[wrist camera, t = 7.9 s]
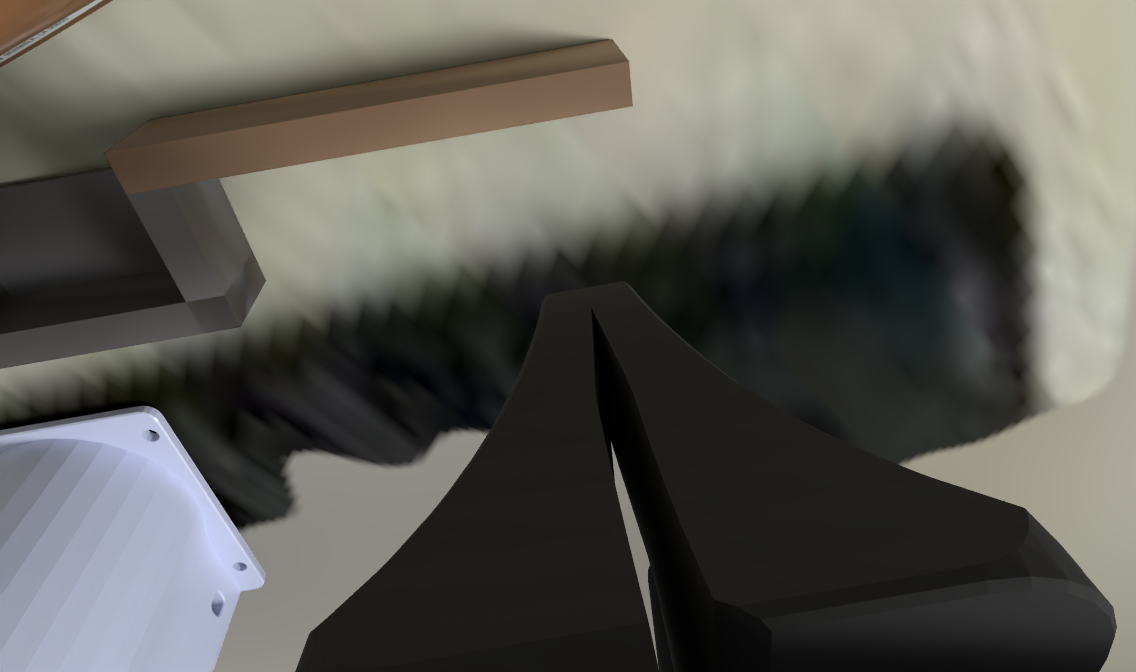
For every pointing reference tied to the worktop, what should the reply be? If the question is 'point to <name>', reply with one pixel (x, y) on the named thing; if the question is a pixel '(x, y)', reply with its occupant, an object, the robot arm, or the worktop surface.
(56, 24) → the tin
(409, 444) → the worktop surface
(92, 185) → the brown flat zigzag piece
